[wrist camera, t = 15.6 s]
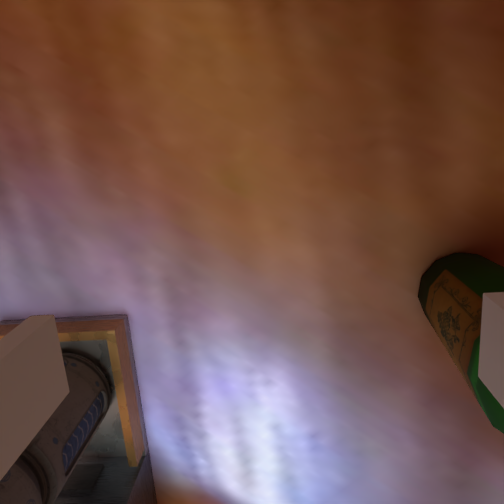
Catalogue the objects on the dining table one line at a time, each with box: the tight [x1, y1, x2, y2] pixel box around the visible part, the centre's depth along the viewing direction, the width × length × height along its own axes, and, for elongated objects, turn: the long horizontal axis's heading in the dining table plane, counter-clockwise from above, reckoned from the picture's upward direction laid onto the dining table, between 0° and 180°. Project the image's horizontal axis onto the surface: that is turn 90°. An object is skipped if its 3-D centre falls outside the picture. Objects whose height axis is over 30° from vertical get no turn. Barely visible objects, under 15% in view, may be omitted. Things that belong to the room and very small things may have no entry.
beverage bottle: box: [0, 353, 111, 504], centre depth 42 cm, size 10×13×25 cm
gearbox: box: [0, 315, 157, 504], centre depth 51 cm, size 28×15×12 cm, turn 4°
